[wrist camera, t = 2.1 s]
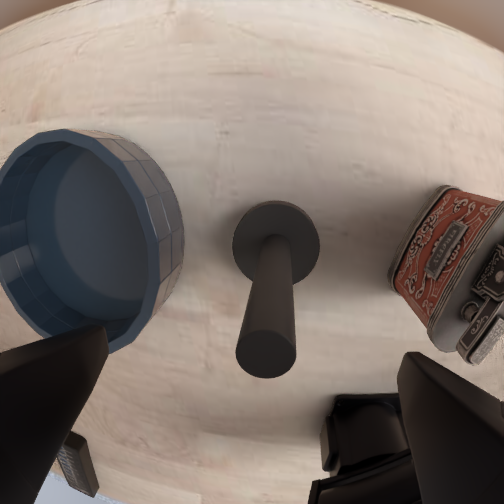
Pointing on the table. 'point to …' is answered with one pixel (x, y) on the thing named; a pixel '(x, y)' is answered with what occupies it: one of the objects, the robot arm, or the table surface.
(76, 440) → the multiport hub
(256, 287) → the dark disc-based rod
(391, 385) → the table surface
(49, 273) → the bowl
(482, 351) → the lighter
